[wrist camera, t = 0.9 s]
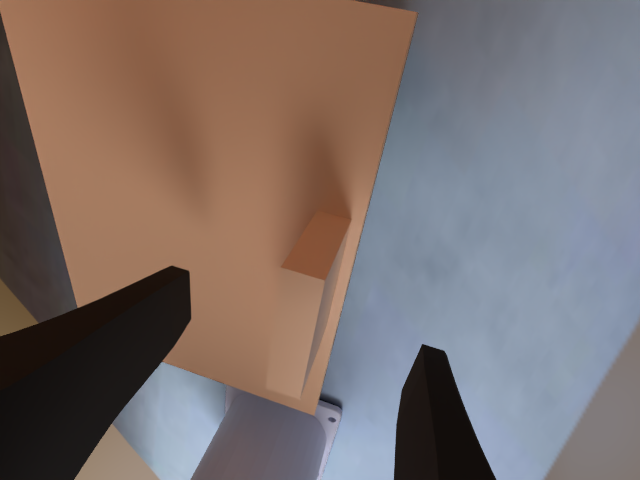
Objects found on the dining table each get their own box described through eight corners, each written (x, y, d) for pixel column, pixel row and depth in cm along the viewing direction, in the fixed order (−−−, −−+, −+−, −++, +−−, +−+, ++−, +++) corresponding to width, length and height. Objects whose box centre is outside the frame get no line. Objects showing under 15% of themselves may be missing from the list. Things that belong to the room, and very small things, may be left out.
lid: (321, 393, 19) (290, 491, 15) (102, 317, 21) (24, 387, 17) (419, 13, 10) (407, 6, 6) (20, -61, 12) (-189, -103, 8)
